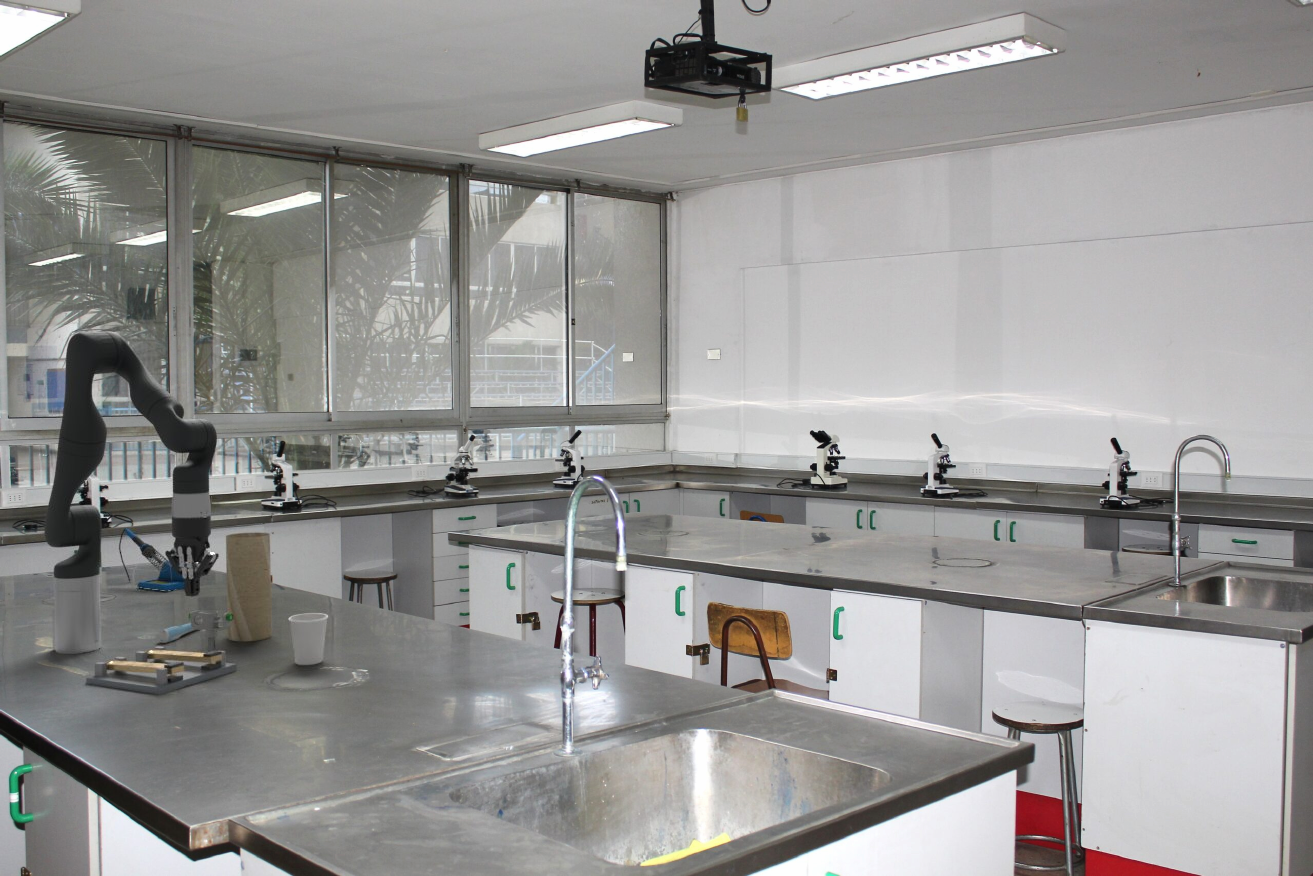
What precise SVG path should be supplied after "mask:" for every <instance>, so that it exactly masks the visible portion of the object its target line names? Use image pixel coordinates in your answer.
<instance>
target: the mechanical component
mask: <svg viewBox="0 0 1313 876" xmlns="http://www.w3.org/2000/svg"><path fill="white" fill-rule="evenodd" d="M188 619H189V621H190V623H191V626H192V628H193V629H195V630H196V631H198V630H199V631H200V630H201V631H202V630H203V631H205V635H204V637H206V639H207V653H208V652H212V651H216V637H218V635H219V634H218V631H220V632H221V631H224V630H226V629H227V630H228V628H229V627H231V625H232V620H233V614H231V613H227V612H224V613H223V614H222V618H221V615H219V611H218V610H199V609H198V610H193V611H190V612H189V614H188ZM219 623H220V624H223V625H222V626H221V625H219Z"/></svg>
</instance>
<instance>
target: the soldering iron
mask: <svg viewBox="0 0 1313 876" xmlns="http://www.w3.org/2000/svg"><path fill="white" fill-rule="evenodd" d="M124 533H125V535H127V536H128V537H129V538H130V540H132V542H133V543H134V544H135V545H137V546H138V547H139V550H140V552H141V555H142V556H144V558H145V559H146V560H147V561H148V562H149V563H151V564H152V565H153V566H154V567H155V569H157V570H158V571H159V574H158V577H157V578H155V579H150V580H144V581H139V582H138V583H137V588H138V587H142V588H150V589H158V590H165V591H168V590H175V589H178V590H180V589H181V588H182V589H184V578H183V576H182V575H177V574H176V572H175V570H174V568H173V567H172V565H171V563H170V561H169V560H168V558H167V557H165V556H164V555H163V554H161V553H160V552H159V551H158V550H156V548H154V546H153V545H151V544H149V543H146V542H144V541H143V540H142V539H141V538H140V537H139V536H137V535H136V534H135V533H134V532H132V531H131V529H129V528H124V529H123V530H122V533H121V535H120V539H119V543H118V550H119V551H118V552H119V554H120V555H119V556H120V560H121V562H122V565H123V568H124V570H125V573H126V575H127V579H128V582H129V581H131V578H130V575H129V572H128V570H127V567H126V564H125V562H124V560H123V555H122V550H121V545H122V544H121V543H122V540H123V534H124ZM179 567H180V565H179ZM180 568H181V567H180ZM175 591H176V590H175Z"/></svg>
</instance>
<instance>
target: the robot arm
mask: <svg viewBox="0 0 1313 876" xmlns="http://www.w3.org/2000/svg"><path fill="white" fill-rule="evenodd" d="M65 353H66V355H65V376H64V377H65V384H64V386H65V387H64V400H63V407H62V408H63V409H62V416H61V417H62V418H61V422H60V423H61V424H60V428H59V429H60V430H59V435H58V443H57V454H56V463H55V470H54V477H53V478H54V479H53V483H52V488H51V491H50V496H49V501H48V505H47V508H46V514H45V518H44V519H45V520H44V527H43V529H44V530H43V531H44V538H45V541H46V543H47V545H48V546H50V547H52V548H68V547H69V548H70V547H78V549H77V551H76V552H75V553H74V554H73V555H71V556H70V557H68V558H66V559H64V560H62V561H59V562H57V563H56V564H55V565H54V567H53V590H54V591H53V592H54V608H53V609H52V610H51V623H52V624H51V625H52V627H51V628H52V651H54V652H56V653H57V654H61V655H62V654H63V655H75V654H83V653H84V652H85V653H89V652H94V651H97V650H100V649H101V648H102V620H101V619H102V618H101V617H102V616H101V576H100V575H101V574H100V573H101V572H100V568H101V561H102V560H101V559H102V533H103V532H102V528H103V527H102V526H103V525H102V515H101V513H100V511H99V509H98V508H97V507H96V506H95V505H93V504H84V505H83V504H82V505H72V503H73V499H74V498H75V496H76V493H77V492H78V490H79V489H80V487H81V486H82V485H83V484H84V483H85V481H87V479H89V477H90V476H91V475H92V474H93V473H94V472H95V470H96V469H97V468H98V467H99V466H100V464H101V462H102V461H103V458H104V455H105V449H106V444H107V435H108V434H107V433H108V429H107V425H106V423H105V420H104V418H103V417H102V415H101V413H100V411H99V409H98V408H97V405H96V404H95V402H94V399H93V381H94V377H95V375H102V374H110V373H111V374H112V373H115V374H117V375H118V376H120V378H122V379H124V381H126V382H127V383H128V387H129V388H128V389H129V396H130V401H131V402H132V405H133V407H134V408H135V410H136V411H137V412H139V414H141V415H142V417H144V418H145V419H146V420H147V421H148V422H149V423H150V424H152V425H153V427H154V429H155V432H156V433H157V435H158V437H159V439H160V441H161V443H162V444H163V445H164V446H165V448H167V449H168V450H170V451H171V452H173V453H175V454H176V453H177V454H188V455H187V458H186V461H185V462H183V463H180V464H178V465H176V466H175V467H174V468H173V470H172V500H171V535H172V537H173V538H174V539H175V540H174V542H173V547H172V548H171V549H169V550H166V551H165V553H164V554H165V556H166V559H167V560H168V561H170V563H171V565H172V567H173V568H174V570H175V572H176V574H177V575H182V576H183V578H184V588H183V590H184V593H185V596H186V597H197V596H199V594H200V592H201V587H200V586H201V581H200V579H201V577H205V576H208V574H209V572H210V571H211V570H212V568H213V566H214V565H215V563H216V561H218V559H219V556H220V555H219V553H218V552H214V551H212V549H211V545H210V544H211V543H210V542H209V536H210V535H211V534H212V516H211V515H212V514H211V513H212V510H211V508H212V505H211V497H210V495H211V494H210V471H211V467H212V464H213V459H214V457H215V452H216V450H217V443H218V433H217V431H216V428H215V425H214V424H213V423H212V422H211V421H209V420H208V419H204V418H194V419H193V418H192V419H190V418H189V419H188V418H187V419H186V418H184V416H185V409H184V406H183V405H182V404H181V403H180V402H179V401H178V400H177V399H176V397H174V396H173V395H172V394H171V393H169V391H167V390H166V389H165V388H164V387H163V386H162V385H161V384H160V383H159V382H158V381H157V380H156V379H155V377H154V376H153V375H152V374H151V372H150V371H149V369H148V368H147V367H146V366H145V364H144V363H143V361H142V360H141V358H140V357H139V356H138V355H137V353H136V352H135V351H134V349H133V348H132V346H131V345H130V344H129V343H128V342H127V340H126V339H125V338H124V337H123V336H122V335H120V334H119V333H118V332H115V331H110V330H108V331H106V330H104V331H103V330H102V331H85V332H83V331H82V332H76V333H75V334H73V335H72V336H71V337H70V339H69V340H68V342H67V346H66V352H65ZM183 418H184V419H183ZM179 565H180V567H181V568H180V567H179ZM99 648H100V649H99ZM93 650H94V651H93Z"/></svg>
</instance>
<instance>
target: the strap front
mask: <svg viewBox="0 0 1313 876" xmlns="http://www.w3.org/2000/svg"><path fill="white" fill-rule="evenodd" d="M106 663H107V671H112V670H116V671H129V672H143V673H156V669H158V668H167V674H171V675H172V674H176V673H179V672H182V671H184V662H173V663H170V664H161V663H146V662H136V661H129V660H127V661H118V660H115V659H114V660H111V661H108V662H106Z"/></svg>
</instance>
